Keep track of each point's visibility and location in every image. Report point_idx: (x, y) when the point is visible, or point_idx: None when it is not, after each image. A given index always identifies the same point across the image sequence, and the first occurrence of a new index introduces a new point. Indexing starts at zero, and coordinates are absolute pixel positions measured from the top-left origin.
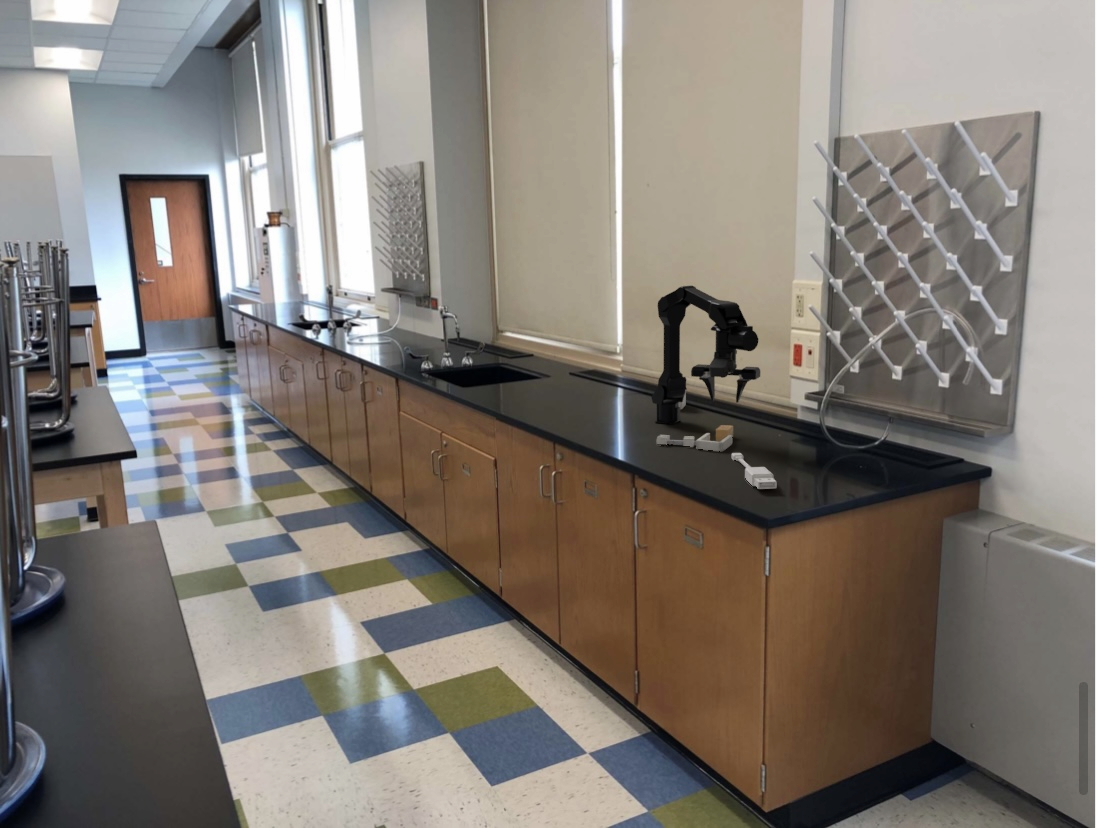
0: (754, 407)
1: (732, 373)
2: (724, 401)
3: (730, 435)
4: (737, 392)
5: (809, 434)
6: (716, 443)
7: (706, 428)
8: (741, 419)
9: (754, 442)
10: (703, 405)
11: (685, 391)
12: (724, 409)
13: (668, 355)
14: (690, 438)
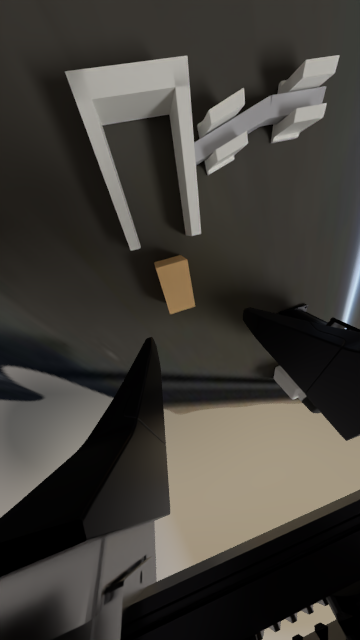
0: (210, 405)
1: (247, 621)
2: (241, 402)
3: (132, 244)
4: (141, 372)
5: (81, 380)
6: (95, 73)
7: (228, 322)
8: (203, 376)
9: (104, 291)
10: (256, 386)
11: (286, 391)
12: (234, 389)
13: None
14: (220, 108)
